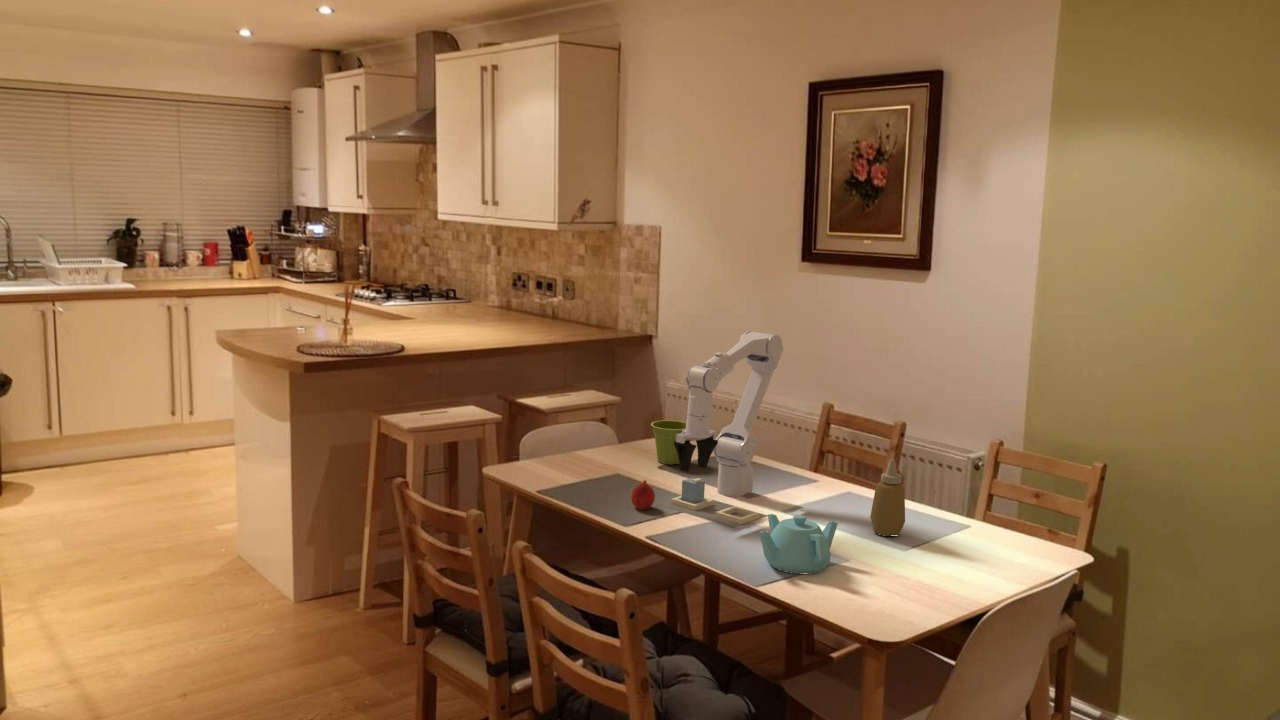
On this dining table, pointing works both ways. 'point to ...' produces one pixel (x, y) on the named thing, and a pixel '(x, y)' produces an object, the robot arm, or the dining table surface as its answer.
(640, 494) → the red pomegranate
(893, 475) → the squeeze bottle
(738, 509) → the panel
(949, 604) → the dining table surface
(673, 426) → the plant pot
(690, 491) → the plug
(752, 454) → the robot arm
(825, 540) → the teapot
